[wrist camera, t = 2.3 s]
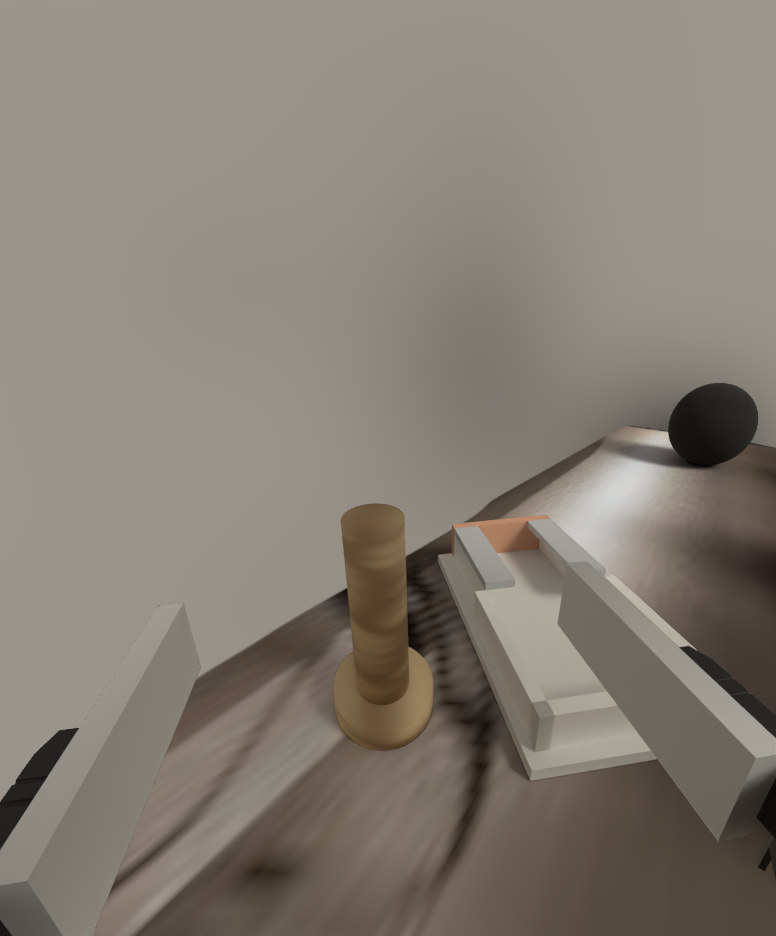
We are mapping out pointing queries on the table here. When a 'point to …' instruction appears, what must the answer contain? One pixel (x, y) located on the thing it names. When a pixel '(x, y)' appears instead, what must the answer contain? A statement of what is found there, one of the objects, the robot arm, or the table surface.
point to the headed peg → (380, 637)
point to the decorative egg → (713, 424)
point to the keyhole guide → (539, 645)
